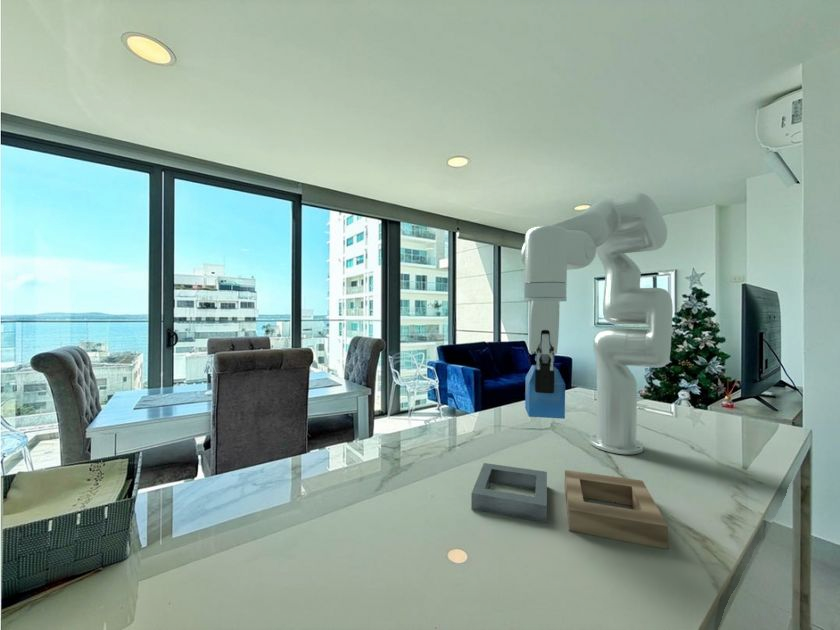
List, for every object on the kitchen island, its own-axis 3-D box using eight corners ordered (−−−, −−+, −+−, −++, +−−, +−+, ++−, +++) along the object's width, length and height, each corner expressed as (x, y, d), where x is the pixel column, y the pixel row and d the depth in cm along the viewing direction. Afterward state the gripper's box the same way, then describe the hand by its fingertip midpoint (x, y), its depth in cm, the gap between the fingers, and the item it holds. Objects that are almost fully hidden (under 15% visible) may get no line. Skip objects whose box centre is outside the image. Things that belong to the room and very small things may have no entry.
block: (483, 476, 80) (483, 462, 80) (546, 486, 76) (546, 471, 76) (471, 509, 67) (471, 493, 67) (546, 523, 63) (546, 505, 63)
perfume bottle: (564, 418, 66) (565, 351, 66) (528, 416, 67) (529, 350, 67) (558, 409, 72) (558, 348, 72) (525, 407, 73) (525, 347, 73)
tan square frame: (564, 486, 76) (564, 469, 76) (642, 498, 71) (642, 480, 71) (569, 530, 61) (569, 509, 61) (667, 548, 56) (668, 526, 56)
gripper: (525, 295, 79) (524, 379, 79) (522, 291, 62) (521, 397, 62) (563, 295, 76) (562, 381, 77) (570, 291, 60) (569, 400, 60)
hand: (544, 387), depth 69 cm, fingers closed on perfume bottle, 6 cm apart
